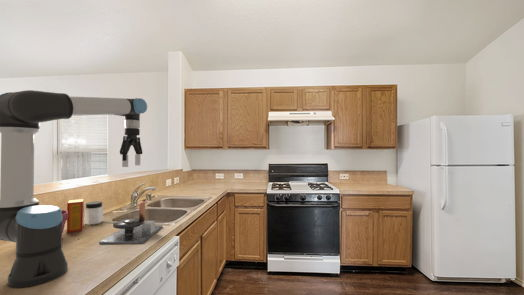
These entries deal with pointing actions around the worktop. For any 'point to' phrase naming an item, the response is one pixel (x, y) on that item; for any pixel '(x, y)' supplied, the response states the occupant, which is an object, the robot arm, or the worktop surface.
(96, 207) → the jar
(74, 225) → the baking soda box
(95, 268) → the worktop surface
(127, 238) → the dark grey flat piece
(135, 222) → the handwheel
